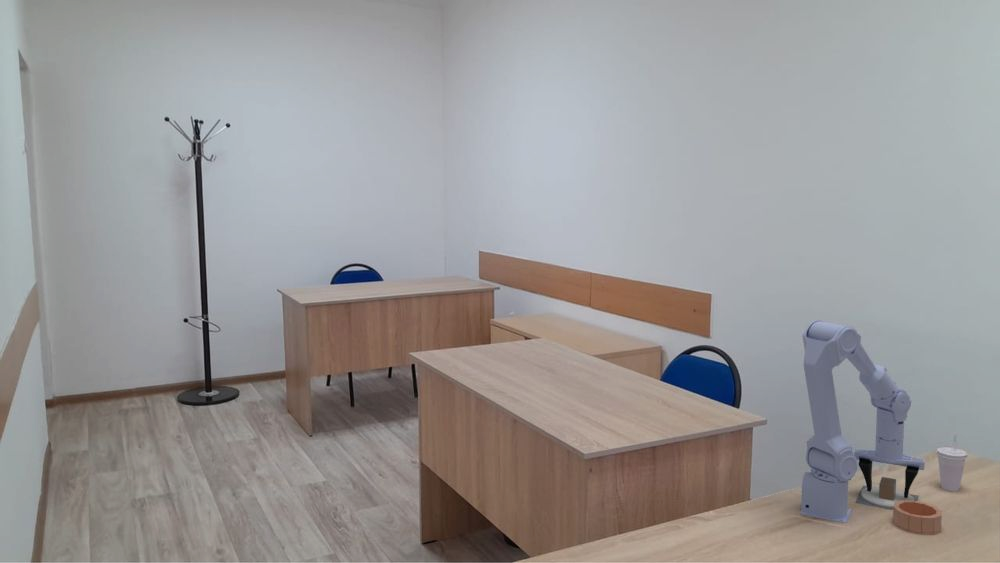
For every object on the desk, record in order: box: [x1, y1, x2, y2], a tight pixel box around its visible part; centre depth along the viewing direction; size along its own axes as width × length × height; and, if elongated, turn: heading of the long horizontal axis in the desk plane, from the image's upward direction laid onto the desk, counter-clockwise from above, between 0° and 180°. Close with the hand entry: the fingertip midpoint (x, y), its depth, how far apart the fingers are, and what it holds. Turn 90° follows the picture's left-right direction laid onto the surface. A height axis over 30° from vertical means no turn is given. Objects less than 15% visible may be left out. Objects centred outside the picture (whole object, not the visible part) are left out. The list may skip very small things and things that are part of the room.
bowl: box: [892, 500, 943, 535], centre depth 158 cm, size 9×9×4 cm
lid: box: [861, 476, 914, 508], centre depth 172 cm, size 11×11×4 cm
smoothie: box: [935, 433, 968, 492], centre depth 177 cm, size 6×6×14 cm
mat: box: [855, 485, 920, 511], centre depth 172 cm, size 12×12×1 cm
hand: (887, 493), depth 172 cm, fingers open, 7 cm apart
